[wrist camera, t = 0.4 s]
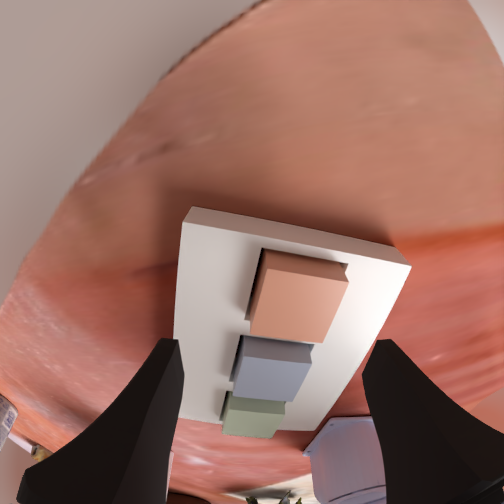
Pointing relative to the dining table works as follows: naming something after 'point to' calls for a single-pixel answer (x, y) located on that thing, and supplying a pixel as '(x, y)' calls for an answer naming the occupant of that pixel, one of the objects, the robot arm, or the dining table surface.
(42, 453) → the pastry
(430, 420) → the robot arm
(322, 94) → the dining table surface
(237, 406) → the button sage
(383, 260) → the button board
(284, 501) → the passion flower
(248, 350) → the button slate
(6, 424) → the energy drink
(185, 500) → the dish
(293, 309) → the button terracotta
